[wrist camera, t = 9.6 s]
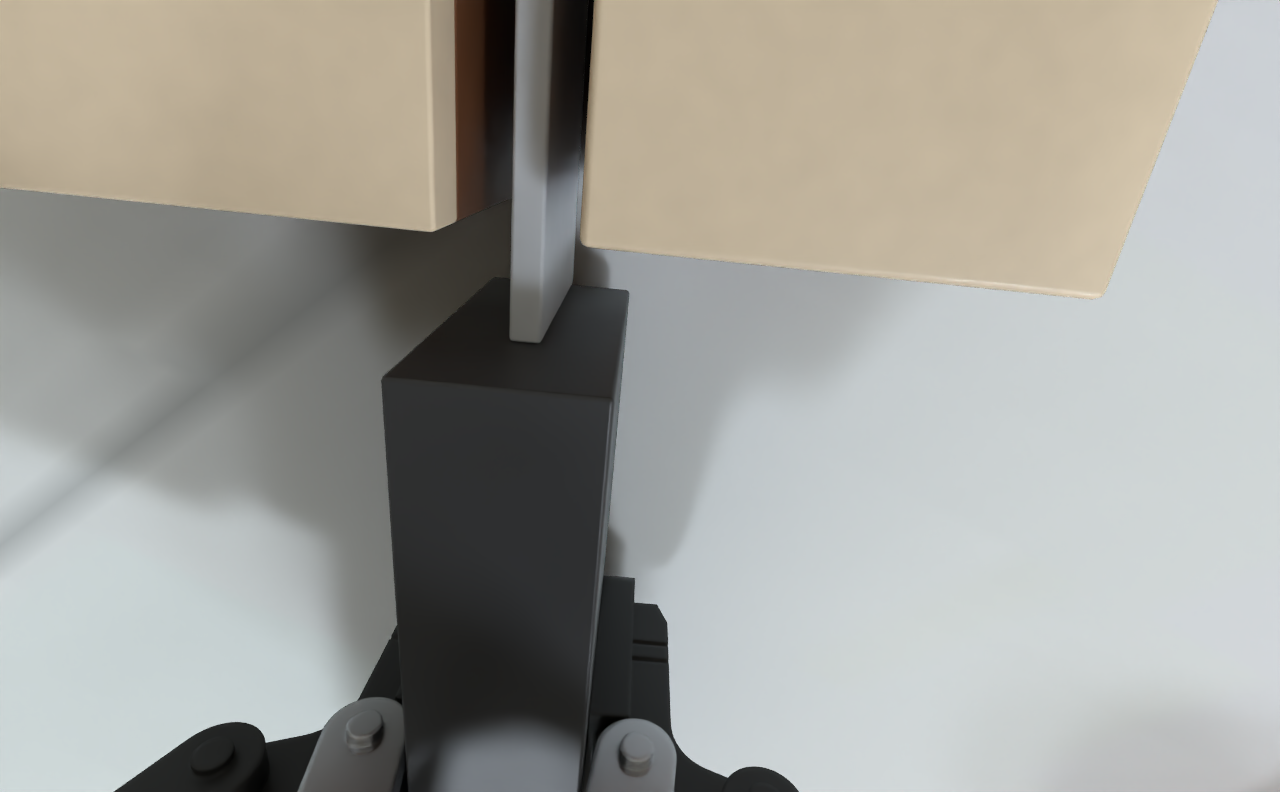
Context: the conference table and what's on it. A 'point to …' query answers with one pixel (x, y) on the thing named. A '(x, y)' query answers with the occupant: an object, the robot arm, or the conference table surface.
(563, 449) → the knife
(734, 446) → the conference table surface
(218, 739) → the robot arm
